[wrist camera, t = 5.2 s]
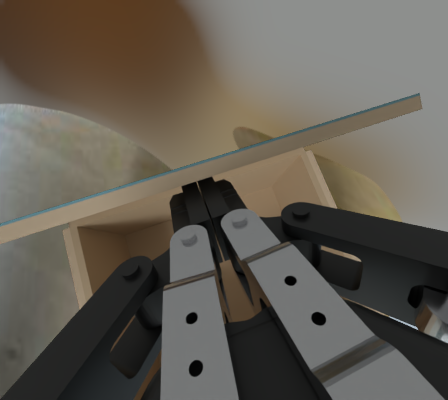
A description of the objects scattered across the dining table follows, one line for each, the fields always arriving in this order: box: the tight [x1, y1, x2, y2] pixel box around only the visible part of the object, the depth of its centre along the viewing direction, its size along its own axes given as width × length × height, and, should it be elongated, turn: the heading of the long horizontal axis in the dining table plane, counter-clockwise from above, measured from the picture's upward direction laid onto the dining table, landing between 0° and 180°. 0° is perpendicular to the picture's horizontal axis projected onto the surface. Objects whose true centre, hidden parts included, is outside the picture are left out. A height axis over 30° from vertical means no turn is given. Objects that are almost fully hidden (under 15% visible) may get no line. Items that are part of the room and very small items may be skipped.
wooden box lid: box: [0, 93, 422, 244], centre depth 16 cm, size 12×21×1 cm
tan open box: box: [62, 147, 385, 400], centre depth 26 cm, size 19×23×12 cm
